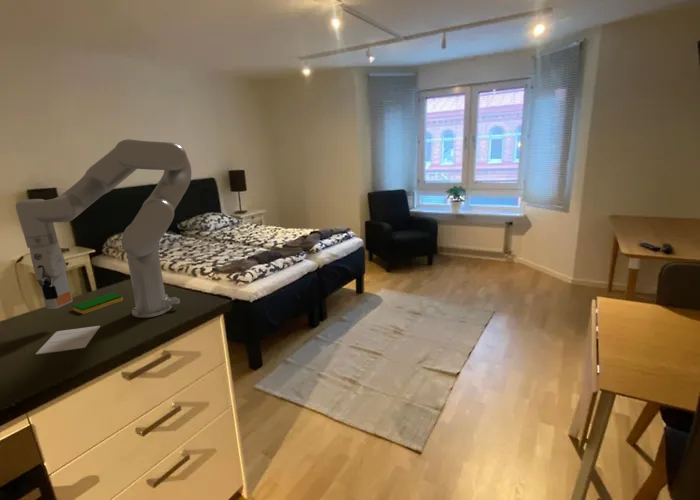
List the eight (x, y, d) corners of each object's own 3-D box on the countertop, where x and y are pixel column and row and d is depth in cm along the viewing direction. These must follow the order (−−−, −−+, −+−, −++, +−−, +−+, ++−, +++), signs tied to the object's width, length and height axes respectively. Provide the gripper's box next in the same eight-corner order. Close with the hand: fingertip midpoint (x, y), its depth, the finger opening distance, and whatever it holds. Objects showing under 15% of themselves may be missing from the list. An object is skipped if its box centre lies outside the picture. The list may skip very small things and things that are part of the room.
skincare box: (56, 309, 118) (46, 273, 114) (45, 308, 119) (35, 272, 115) (74, 301, 123) (64, 266, 120) (63, 300, 124) (53, 266, 121)
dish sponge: (73, 311, 135) (71, 305, 135) (112, 298, 147) (111, 292, 146) (83, 315, 132) (82, 309, 131) (123, 301, 143) (122, 295, 143)
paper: (100, 326, 122) (100, 325, 122) (85, 347, 109) (84, 346, 109) (56, 332, 119) (56, 331, 119) (35, 354, 106) (35, 353, 106)
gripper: (43, 245, 108) (59, 302, 113) (67, 232, 124) (80, 283, 129) (12, 248, 106) (30, 307, 111) (40, 235, 122) (55, 286, 127)
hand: (57, 293), depth 120 cm, fingers closed on skincare box, 7 cm apart
